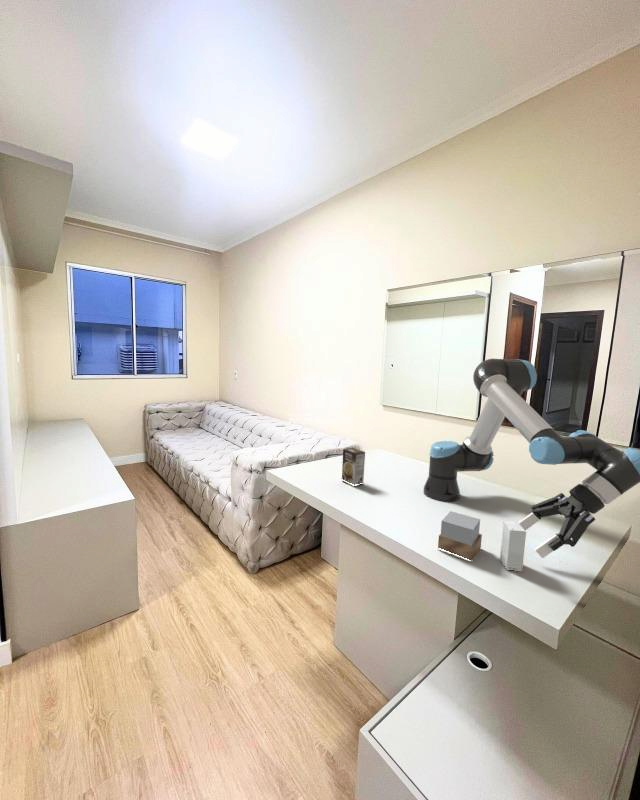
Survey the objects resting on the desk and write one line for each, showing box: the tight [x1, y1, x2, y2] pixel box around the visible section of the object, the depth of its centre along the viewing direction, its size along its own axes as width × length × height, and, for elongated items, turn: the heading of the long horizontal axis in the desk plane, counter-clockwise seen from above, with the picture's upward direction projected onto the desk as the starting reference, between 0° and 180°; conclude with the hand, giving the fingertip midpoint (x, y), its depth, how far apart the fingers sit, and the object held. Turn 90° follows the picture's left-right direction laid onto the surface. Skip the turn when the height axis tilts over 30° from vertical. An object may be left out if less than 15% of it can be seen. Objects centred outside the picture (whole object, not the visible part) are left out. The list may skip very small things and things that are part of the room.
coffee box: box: [341, 447, 366, 485], centre depth 162 cm, size 9×6×16 cm
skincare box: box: [499, 520, 527, 572], centre depth 98 cm, size 6×4×12 cm
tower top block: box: [440, 510, 481, 546], centre depth 106 cm, size 9×9×5 cm
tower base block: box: [437, 533, 483, 561], centre depth 106 cm, size 10×10×5 cm
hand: (527, 540), depth 96 cm, fingers open, 13 cm apart
